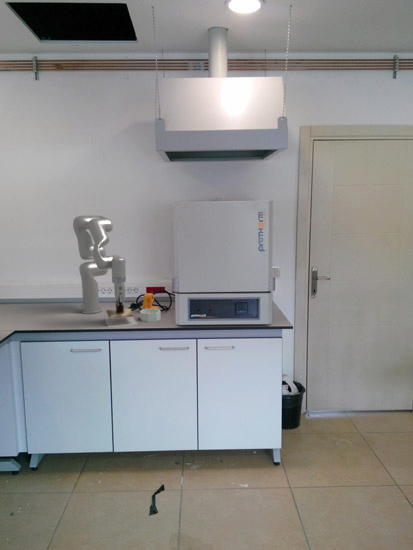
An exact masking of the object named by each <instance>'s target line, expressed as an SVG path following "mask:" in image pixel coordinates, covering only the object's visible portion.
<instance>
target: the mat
mask: <svg viewBox="0 0 413 550" xmlns="http://www.w3.org/2000/svg"><path fill="white" fill-rule="evenodd" d="M104 321H105V323H106V326H107V328H115V327H118V328H119V327H124V326H125V327H126V326H134V325H138V322H137V321H136V319H135V318H134V316H130V317H119V318H108V319H107V318H106V319H104Z"/></svg>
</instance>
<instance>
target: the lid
mask: <svg viewBox="0 0 413 550" xmlns="http://www.w3.org/2000/svg"><path fill="white" fill-rule="evenodd" d="M117 305H118V303H115V309H107V310H105V312H106V314H107V316H108V319H116V318H126V317H134V316H135V314H134V313H133V311H132V310H131V308H130V307H129V308H124V307H125V305H124V303H123V312H117Z"/></svg>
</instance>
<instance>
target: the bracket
mask: <svg viewBox="0 0 413 550" xmlns="http://www.w3.org/2000/svg"><path fill="white" fill-rule="evenodd" d="M154 300H155V295H154V294H153V293H146V292H145V293H144V295H143V300H142V301H143V302H142V309H141V310H143V309H150V308H154V309H159V310H160V306H156V305H153V302H154Z"/></svg>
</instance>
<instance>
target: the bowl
mask: <svg viewBox="0 0 413 550" xmlns="http://www.w3.org/2000/svg"><path fill="white" fill-rule="evenodd" d="M142 309H143V308H142ZM142 309H141V310H139V320H140V321H141V322H147V323H151V322H158V321H160V320H161V319H162V318H161V317H162V315H161V314H162V313H161V310H160V308H159V309H154V308H150V309H143V310H142Z"/></svg>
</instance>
